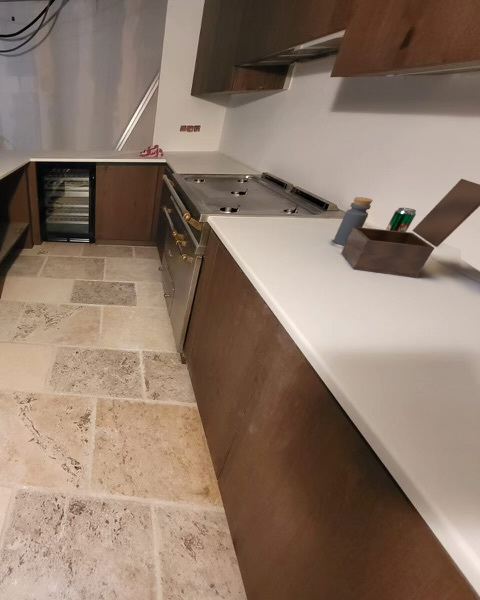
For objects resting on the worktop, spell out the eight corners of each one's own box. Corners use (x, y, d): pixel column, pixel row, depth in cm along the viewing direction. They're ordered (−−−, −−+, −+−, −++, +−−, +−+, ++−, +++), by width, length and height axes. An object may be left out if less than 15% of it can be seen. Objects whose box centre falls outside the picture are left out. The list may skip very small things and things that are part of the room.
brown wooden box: (353, 269, 93) (367, 240, 89) (341, 253, 103) (353, 226, 99) (416, 277, 89) (434, 248, 84) (396, 259, 99) (412, 232, 94)
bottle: (330, 242, 111) (350, 198, 103) (336, 238, 114) (355, 195, 106) (351, 247, 107) (372, 202, 99) (355, 243, 110) (377, 199, 102)
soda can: (380, 240, 113) (398, 206, 106) (398, 244, 110) (418, 209, 103) (377, 244, 110) (396, 209, 103) (397, 248, 107) (417, 212, 100)
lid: (492, 188, 75) (496, 190, 75) (461, 178, 85) (464, 179, 85) (434, 245, 84) (437, 247, 84) (411, 230, 94) (414, 231, 94)
